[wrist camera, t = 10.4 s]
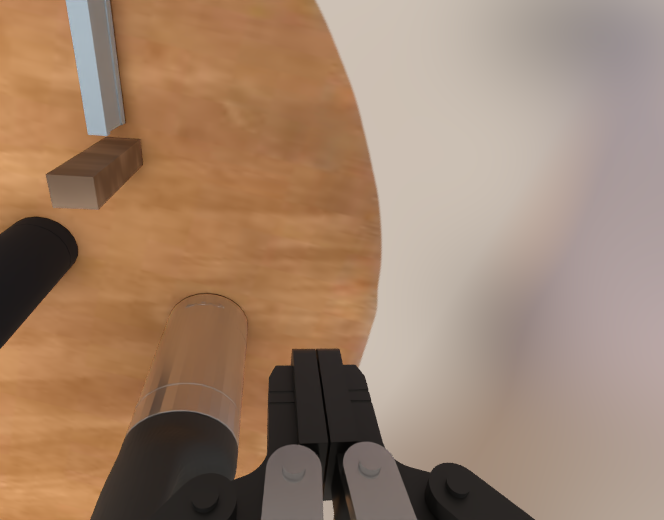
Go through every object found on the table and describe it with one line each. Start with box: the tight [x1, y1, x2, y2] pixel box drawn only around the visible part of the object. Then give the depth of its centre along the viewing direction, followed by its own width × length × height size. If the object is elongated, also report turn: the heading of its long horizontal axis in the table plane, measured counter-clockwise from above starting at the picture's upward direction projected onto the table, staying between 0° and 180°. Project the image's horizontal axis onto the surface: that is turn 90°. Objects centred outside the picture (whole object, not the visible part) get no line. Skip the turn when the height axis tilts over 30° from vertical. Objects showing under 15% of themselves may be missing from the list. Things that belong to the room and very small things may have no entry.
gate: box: [66, 0, 125, 136], centre depth 33 cm, size 14×1×6 cm, turn 175°
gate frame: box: [46, 137, 143, 210], centre depth 30 cm, size 21×3×13 cm, turn 174°
